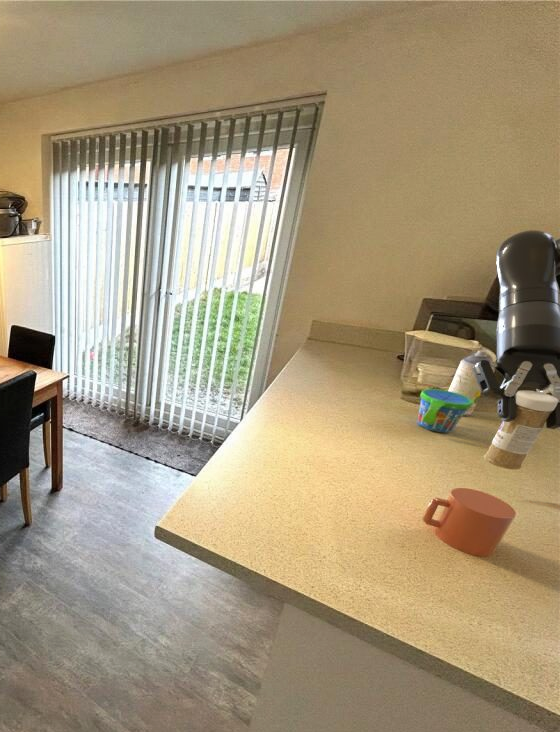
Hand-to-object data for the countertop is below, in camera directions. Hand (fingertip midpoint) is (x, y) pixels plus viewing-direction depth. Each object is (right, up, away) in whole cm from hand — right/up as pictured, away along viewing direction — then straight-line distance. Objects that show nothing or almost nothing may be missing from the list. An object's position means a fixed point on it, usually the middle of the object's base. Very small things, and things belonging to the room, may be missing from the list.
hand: (531, 423), depth 64 cm
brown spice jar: (+1, -8, +5) cm, 9 cm away
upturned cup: (0, -24, +12) cm, 27 cm away
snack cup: (+34, -6, +51) cm, 61 cm away
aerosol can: (+50, -2, +59) cm, 77 cm away
